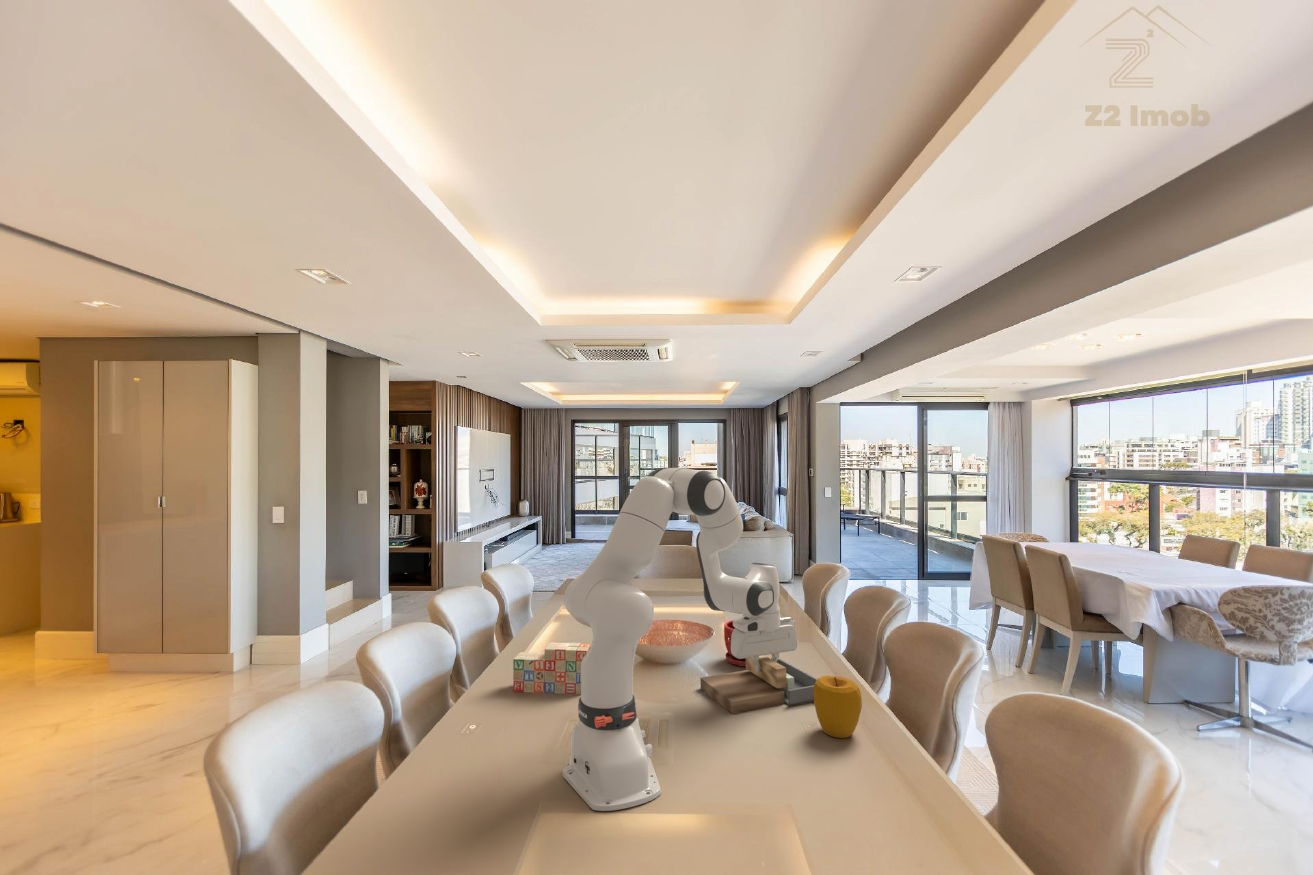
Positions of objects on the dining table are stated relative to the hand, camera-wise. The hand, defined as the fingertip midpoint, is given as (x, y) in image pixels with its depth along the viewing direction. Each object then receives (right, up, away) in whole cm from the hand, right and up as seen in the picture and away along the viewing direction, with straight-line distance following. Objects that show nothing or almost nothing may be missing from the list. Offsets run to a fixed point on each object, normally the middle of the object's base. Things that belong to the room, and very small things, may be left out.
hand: (765, 669), depth 156 cm
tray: (+6, -6, +2) cm, 9 cm away
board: (-7, -6, -3) cm, 10 cm away
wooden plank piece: (0, -2, 0) cm, 2 cm away
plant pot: (-2, -8, +24) cm, 25 cm away
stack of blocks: (-61, -7, +2) cm, 61 cm away
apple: (+12, -5, -25) cm, 28 cm away
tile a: (+4, -3, -4) cm, 6 cm away
